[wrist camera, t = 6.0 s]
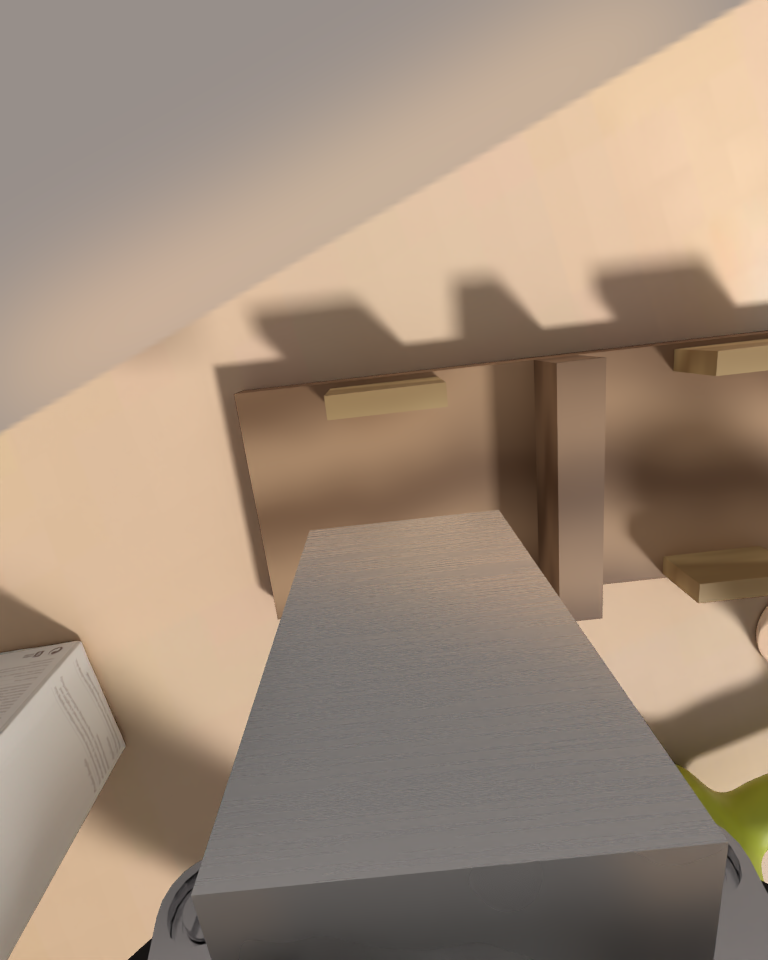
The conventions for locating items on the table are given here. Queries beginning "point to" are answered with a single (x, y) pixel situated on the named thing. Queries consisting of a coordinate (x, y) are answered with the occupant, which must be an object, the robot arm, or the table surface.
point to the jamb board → (491, 459)
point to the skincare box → (46, 769)
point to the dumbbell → (738, 813)
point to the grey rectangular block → (449, 773)
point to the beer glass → (763, 634)
